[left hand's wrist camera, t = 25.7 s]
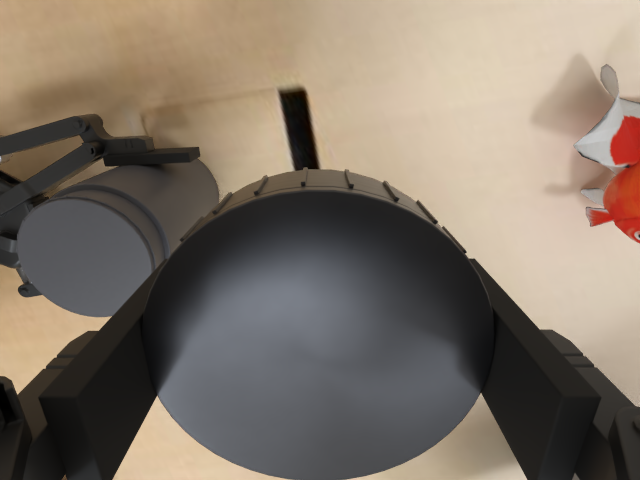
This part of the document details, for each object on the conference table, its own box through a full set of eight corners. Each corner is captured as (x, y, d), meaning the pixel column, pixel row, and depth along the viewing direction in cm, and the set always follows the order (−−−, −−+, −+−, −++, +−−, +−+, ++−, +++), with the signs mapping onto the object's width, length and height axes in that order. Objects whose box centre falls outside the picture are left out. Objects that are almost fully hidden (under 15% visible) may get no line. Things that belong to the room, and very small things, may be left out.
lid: (430, 119, 10) (462, 128, 8) (486, 385, 14) (519, 443, 11) (117, 223, 11) (66, 256, 9) (240, 445, 15) (226, 509, 13)
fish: (537, 256, 35) (664, 250, 26) (517, 92, 36) (634, 28, 26) (617, 247, 38) (755, 239, 29) (597, 97, 39) (725, 43, 30)
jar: (217, 152, 36) (149, 197, 21) (220, 236, 39) (164, 325, 25) (125, 146, 36) (-7, 188, 21) (136, 231, 39) (29, 319, 24)
